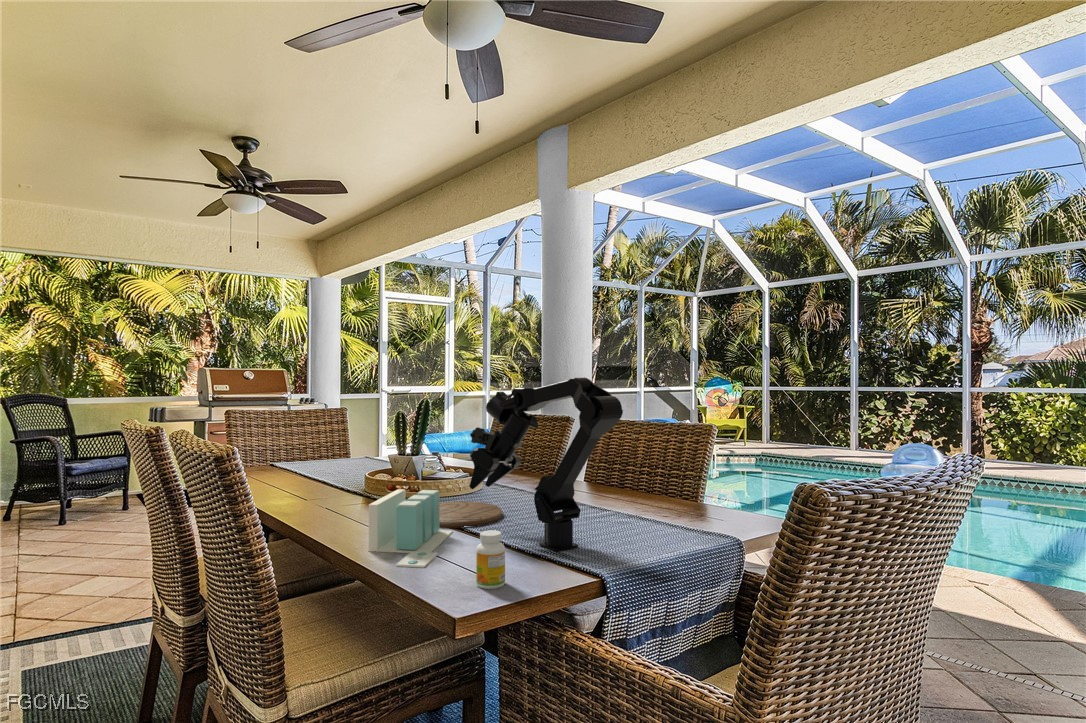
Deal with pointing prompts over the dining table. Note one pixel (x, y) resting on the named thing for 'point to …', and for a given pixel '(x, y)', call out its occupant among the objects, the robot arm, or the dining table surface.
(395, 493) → the l-shaped bookend
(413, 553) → the card
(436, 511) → the teal rectangular block
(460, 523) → the trivet
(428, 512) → the teal upright block
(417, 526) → the teal tall block
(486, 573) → the supplement bottle
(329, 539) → the dining table surface
